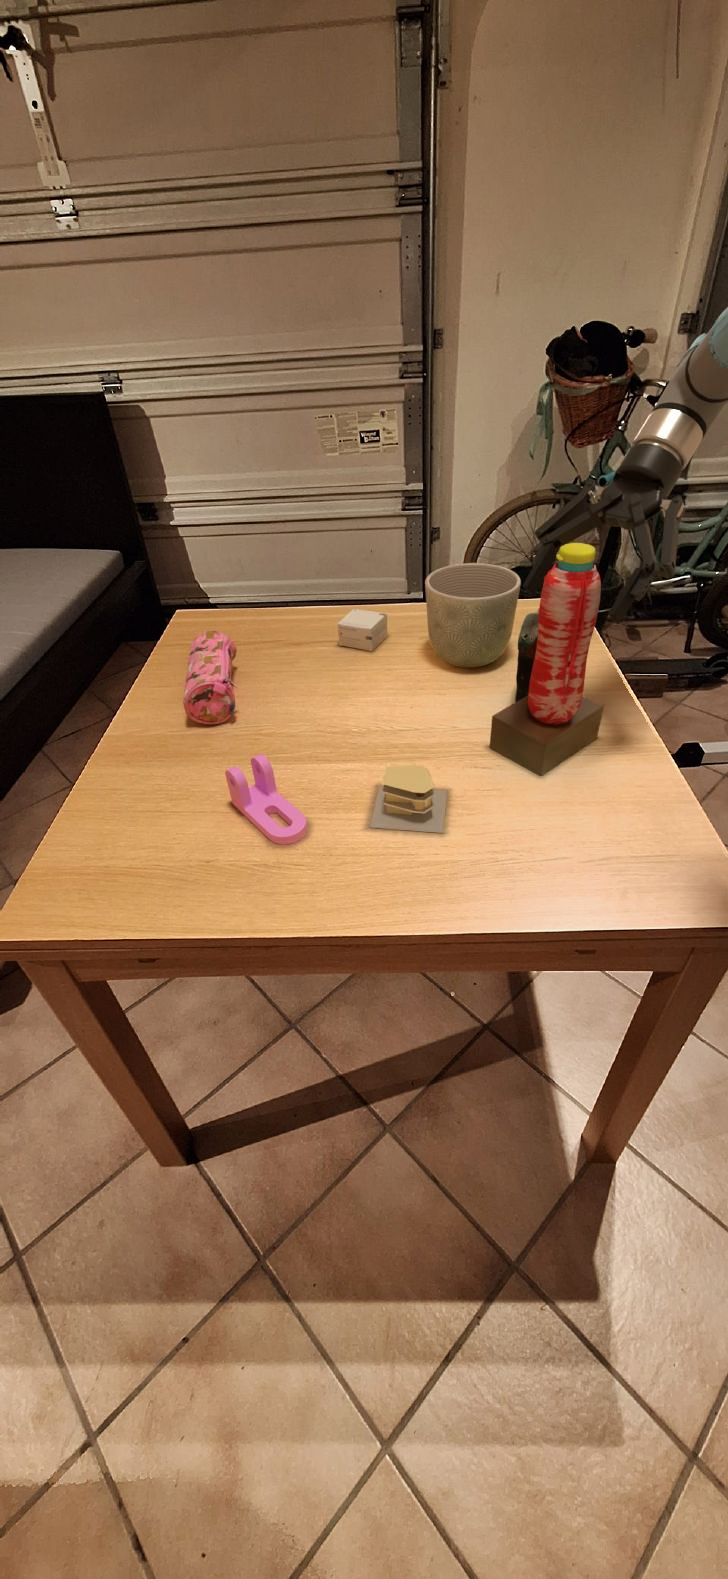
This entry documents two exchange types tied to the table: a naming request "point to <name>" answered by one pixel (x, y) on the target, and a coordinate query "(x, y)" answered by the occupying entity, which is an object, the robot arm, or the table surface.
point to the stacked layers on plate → (409, 801)
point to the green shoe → (525, 663)
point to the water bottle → (564, 634)
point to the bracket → (265, 802)
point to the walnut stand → (543, 735)
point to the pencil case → (210, 679)
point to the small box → (362, 629)
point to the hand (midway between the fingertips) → (568, 604)
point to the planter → (471, 612)
